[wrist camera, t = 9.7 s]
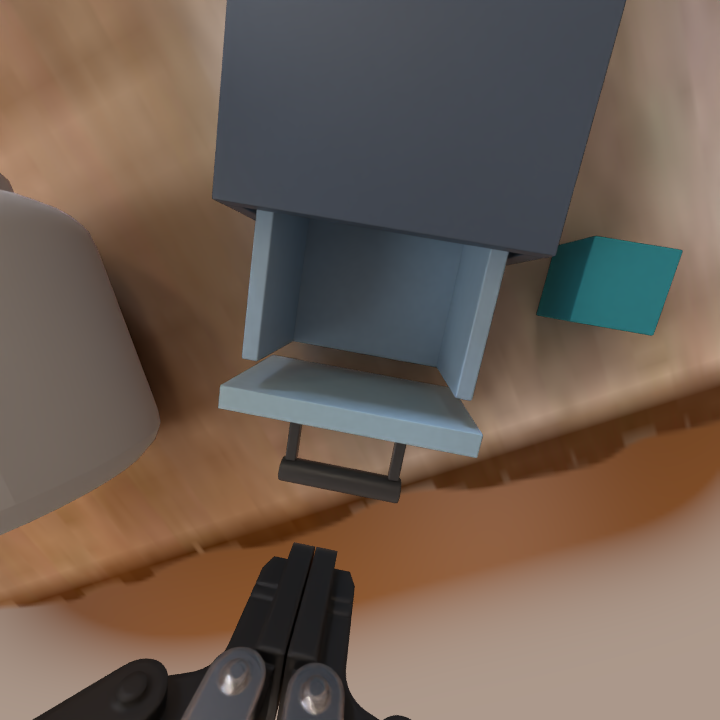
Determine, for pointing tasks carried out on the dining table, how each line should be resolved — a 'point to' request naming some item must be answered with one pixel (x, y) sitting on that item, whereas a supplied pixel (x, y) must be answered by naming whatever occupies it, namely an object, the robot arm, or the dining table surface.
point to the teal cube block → (609, 283)
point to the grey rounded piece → (62, 366)
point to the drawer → (364, 340)
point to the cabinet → (413, 114)
